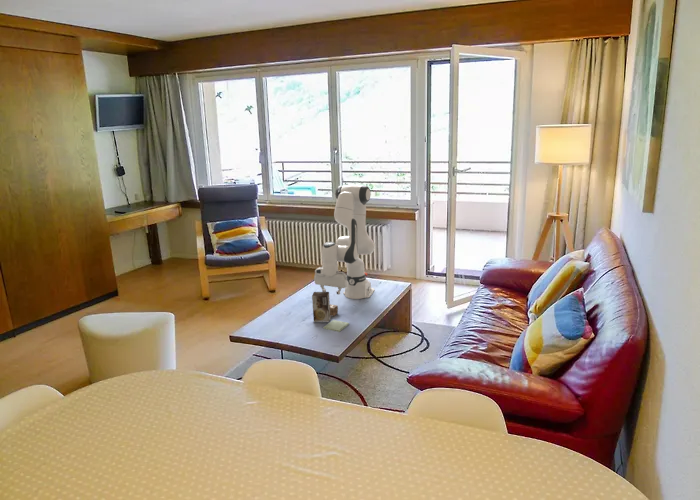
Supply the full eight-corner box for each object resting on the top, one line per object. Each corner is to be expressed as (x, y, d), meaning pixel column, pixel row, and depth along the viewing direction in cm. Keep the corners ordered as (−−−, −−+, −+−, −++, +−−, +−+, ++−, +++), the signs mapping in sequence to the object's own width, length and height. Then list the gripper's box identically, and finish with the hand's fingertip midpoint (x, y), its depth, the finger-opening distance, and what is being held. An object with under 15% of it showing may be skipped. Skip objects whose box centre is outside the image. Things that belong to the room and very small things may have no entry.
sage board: (333, 321, 283) (333, 319, 283) (348, 324, 279) (348, 322, 279) (323, 328, 274) (323, 327, 274) (339, 331, 270) (339, 330, 269)
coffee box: (330, 317, 289) (329, 291, 285) (329, 322, 283) (327, 295, 279) (315, 317, 290) (313, 291, 286) (313, 322, 284) (311, 295, 279)
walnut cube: (330, 312, 298) (330, 304, 296) (337, 313, 295) (337, 305, 294) (326, 315, 293) (325, 307, 292) (333, 316, 291) (333, 308, 290)
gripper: (348, 270, 285) (349, 293, 289) (318, 267, 295) (319, 289, 298) (343, 273, 280) (344, 297, 284) (312, 269, 289) (313, 292, 293)
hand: (331, 293), depth 291 cm, fingers open, 8 cm apart
